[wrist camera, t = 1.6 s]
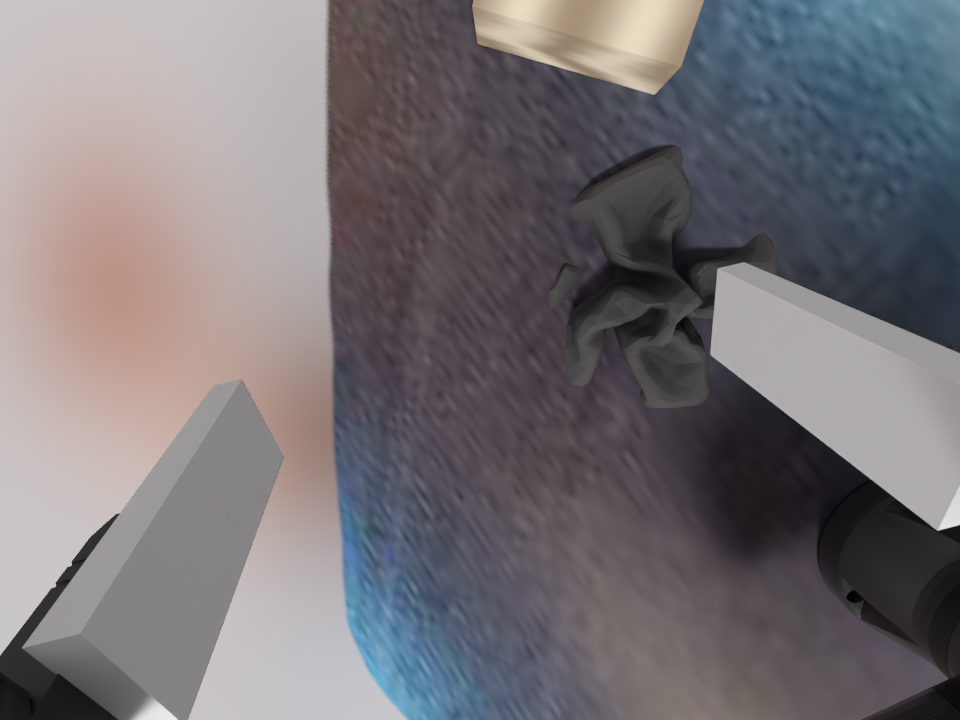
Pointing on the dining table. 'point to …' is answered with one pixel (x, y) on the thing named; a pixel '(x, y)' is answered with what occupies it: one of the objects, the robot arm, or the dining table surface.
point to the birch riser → (594, 35)
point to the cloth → (647, 283)
